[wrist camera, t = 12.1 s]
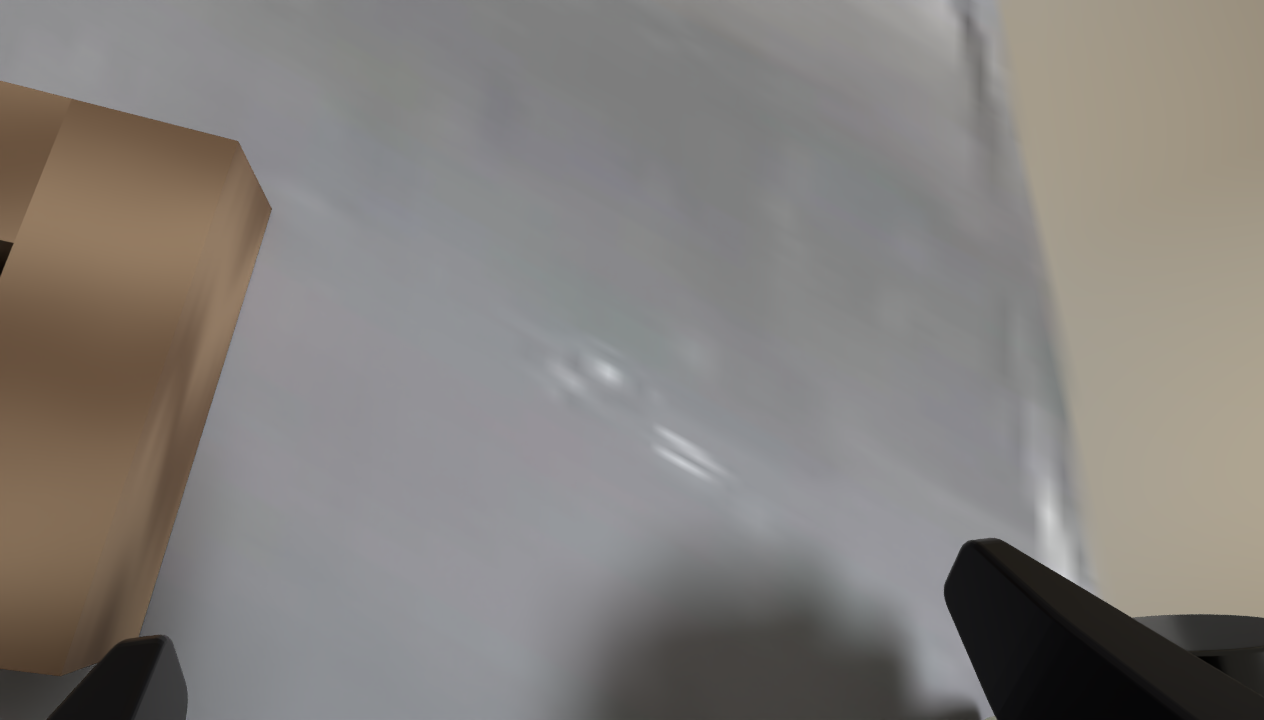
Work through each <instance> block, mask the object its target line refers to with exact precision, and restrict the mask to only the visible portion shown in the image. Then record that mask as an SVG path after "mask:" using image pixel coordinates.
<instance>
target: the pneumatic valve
mask: <svg viewBox="0 0 1264 720" xmlns="http://www.w3.org/2000/svg"><path fill="white" fill-rule="evenodd" d="M1133 619H1135V620H1136V621H1138V622H1140V623H1141V624H1143V625H1145V626H1146V627H1148V628H1150V629H1151V630H1153V631H1155V632H1156V633H1158V634H1160V635H1161V636H1163V637H1165V638H1166V639H1168V640H1170V641H1172V642H1173V643H1175V644H1177V645H1178V646H1180V647H1182V648H1183V649H1185V650H1187V651H1188V652H1190V653H1192V654H1193V655H1195V656H1197V657H1198V658H1200V659H1202V660H1203V661H1205V662H1207V663H1208V664H1210V665H1212V666H1213V667H1215V668H1217V669H1218V670H1220V671H1222V672H1223V673H1225V674H1227V675H1228V676H1230V677H1232V678H1233V679H1235V680H1237V681H1238V682H1240V683H1242V684H1243V685H1245V686H1247V687H1248V688H1250V689H1252V690H1253V691H1255V692H1257V693H1258V694H1260V695H1262V696H1263V697H1264V618H1260V617H1250V616H1236V615H1211V614H1209V615H1208V614H1198V615H1197V614H1195V615H1194V614H1189V615H1188V614H1187V615H1161V616H1146V617H1135V618H1133ZM985 720H997V719H996V717H995V716H992V717H989V718H987V719H985Z"/></svg>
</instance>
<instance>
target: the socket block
mask: <svg viewBox="0 0 1264 720" xmlns="http://www.w3.org/2000/svg"><path fill="white" fill-rule="evenodd" d="M271 210H272V208H271V206H270V204H269V202H268V200H267V198H266V196H265V194H264V192H263V190H262V188H261V186H260V184H259V182H258V180H257V178H256V176H255V174H254V172H253V170H252V168H251V166H250V164H249V162H248V160H247V158H246V156H245V154H244V152H243V150H242V148H241V146H240V144H239V142H238V141H235V140H231V139H227V138H224V137H220V136H216V135H212V134H208V133H204V132H200V131H196V130H192V129H188V128H184V127H180V126H176V125H172V124H168V123H165V122H161V121H157V120H153V119H149V118H145V117H141V116H137V115H133V114H129V113H125V112H121V111H117V110H113V109H109V108H106V107H102V106H98V105H94V104H90V103H86V102H82V101H78V100H74V99H70V98H66V97H62V96H58V95H54V94H50V93H47V92H43V91H39V90H35V89H31V88H27V87H23V86H19V85H15V84H11V83H7V82H3V81H0V669H6V670H14V671H22V672H30V673H38V674H46V675H54V676H63V675H65V674H68V673H71V672H73V671H76V670H79V669H82V668H84V667H87V666H90V665H92V664H95V663H98V662H99V661H100V660H101V659H102V658H103V657H104V656H105V655H106V654H107V653H108V652H109V650H110V649H111V648H112V647H113V646H114V645H116V644H117V643H119V642H120V641H122V640H124V639H128V638H136V637H139V634H140V631H141V628H142V624H143V621H144V618H145V615H146V611H147V608H148V605H149V602H150V599H151V595H152V592H153V589H154V586H155V583H156V579H157V576H158V573H159V570H160V567H161V563H162V560H163V557H164V554H165V550H166V547H167V544H168V541H169V538H170V534H171V531H172V528H173V525H174V522H175V518H176V515H177V512H178V509H179V505H180V502H181V499H182V496H183V493H184V489H185V486H186V483H187V480H188V477H189V473H190V470H191V467H192V464H193V461H194V457H195V454H196V451H197V448H198V444H199V441H200V438H201V435H202V432H203V428H204V425H205V422H206V419H207V416H208V412H209V409H210V406H211V403H212V399H213V396H214V393H215V390H216V387H217V383H218V380H219V377H220V374H221V371H222V367H223V364H224V361H225V358H226V354H227V351H228V348H229V345H230V342H231V338H232V335H233V332H234V329H235V326H236V322H237V319H238V316H239V313H240V310H241V306H242V303H243V300H244V297H245V293H246V290H247V287H248V284H249V281H250V277H251V274H252V271H253V268H254V265H255V261H256V258H257V255H258V252H259V248H260V245H261V242H262V239H263V236H264V232H265V229H266V226H267V223H268V220H269V216H270V213H271Z"/></svg>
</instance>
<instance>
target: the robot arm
mask: <svg viewBox="0 0 1264 720" xmlns="http://www.w3.org/2000/svg"><path fill="white" fill-rule="evenodd" d="M944 597H945V602H946V605H947V607H948V610H949V612H950V614H951V617H952V619H953V621H954V623H955V626H956V628H957V630H958V633H959V635H960V637H961V640H962V642H963V644H964V647H965V649H966V651H967V654H968V656H969V658H970V660H971V663H972V665H973V667H974V670H975V672H976V674H977V677H978V679H979V681H980V684H981V686H982V688H983V691H984V693H985V695H986V697H987V700H988V702H989V704H990V706H991V708H992V710H993V713H994V715H995V717H996V719H997V720H1264V697H1263V696H1262V695H1260V694H1258V693H1257V692H1255V691H1253V690H1252V689H1250V688H1248V687H1247V686H1245V685H1243V684H1242V683H1240V682H1238V681H1237V680H1235V679H1233V678H1232V677H1230V676H1228V675H1227V674H1225V673H1223V672H1222V671H1220V670H1218V669H1217V668H1215V667H1213V666H1212V665H1210V664H1208V663H1207V662H1205V661H1203V660H1202V659H1200V658H1198V657H1197V656H1195V655H1193V654H1192V653H1190V652H1188V651H1187V650H1185V649H1183V648H1182V647H1180V646H1178V645H1177V644H1175V643H1173V642H1172V641H1170V640H1168V639H1166V638H1165V637H1163V636H1161V635H1160V634H1158V633H1156V632H1155V631H1153V630H1151V629H1150V628H1148V627H1146V626H1145V625H1143V624H1141V623H1140V622H1138V621H1136V620H1135V619H1133V618H1131V617H1129V616H1128V615H1126V614H1125V613H1123V612H1121V611H1120V610H1118V609H1116V608H1115V607H1113V606H1111V605H1110V604H1108V603H1106V602H1105V601H1103V600H1101V599H1100V598H1098V597H1096V596H1095V595H1093V594H1091V593H1090V592H1088V591H1086V590H1085V589H1083V588H1081V587H1080V586H1078V585H1076V584H1075V583H1073V582H1071V581H1070V580H1068V579H1066V578H1065V577H1063V576H1061V575H1060V574H1058V573H1056V572H1055V571H1053V570H1051V569H1050V568H1048V567H1046V566H1045V565H1043V564H1041V563H1039V562H1038V561H1036V560H1034V559H1033V558H1031V557H1029V556H1028V555H1026V554H1024V553H1023V552H1021V551H1019V550H1018V549H1016V548H1014V547H1013V546H1011V545H1009V544H1008V543H1006V542H1004V541H1002V540H1000V539H997V538H986V539H977V540H970V541H967V542H966V543H965V544H963V546H962V547H961V549H960V551H959V553H958V555H957V558H956V560H955V562H954V564H953V566H952V568H951V571H950V573H949V575H948V577H947V579H946V582H945V585H944ZM187 703H188V694H187V686H186V682H185V679H184V676H183V673H182V670H181V667H180V664H179V660H178V657H177V654H176V651H175V648H174V645H173V643H172V641H171V639H170V638H169V637H168V636H166V635H153V636H144V637H136V638H128V639H124V640H122V641H120V642H119V643H117V644H116V645H114V646H113V647H112V648H111V649H110V650H109V652H108V653H107V654H106V655H105V656H104V657H103V658H102V659H101V660H100V661H99V663H98V664H97V665H96V666H95V667H94V668H93V669H92V670H91V671H90V672H89V673H88V675H87V676H86V677H85V678H84V679H83V680H82V681H81V682H80V683H79V684H78V686H77V687H76V688H75V689H74V690H73V691H72V692H71V693H70V694H69V695H68V697H67V698H66V699H65V700H64V701H63V702H62V703H61V704H60V705H59V706H58V707H57V709H56V710H55V711H54V712H53V713H52V714H51V715H50V716H49V717H48V718H47V720H186V714H187Z"/></svg>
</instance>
